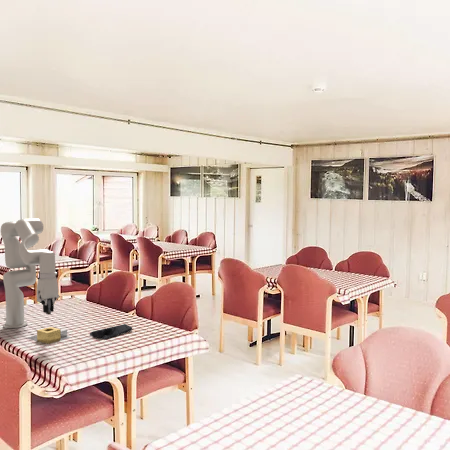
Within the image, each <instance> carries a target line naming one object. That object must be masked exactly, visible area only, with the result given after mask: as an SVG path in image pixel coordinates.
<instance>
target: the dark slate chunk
mask: <svg viewBox="0 0 450 450" xmlns="http://www.w3.org/2000/svg"><path fill="white" fill-rule="evenodd" d="M132 330H133V326H130V325H128V324H126V323H124V324H118V325H116V326H111V327H106V328H102V329H97V330H94V331H91V332H90V333H89V336H90V337H93V338H95V339H97V340H98V339H99V340H108V339H112V338H115V337H118V336H120V335H124V334H126V333H129V332H130V331H132Z"/></svg>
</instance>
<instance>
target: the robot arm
mask: <svg viewBox="0 0 450 450" xmlns="http://www.w3.org/2000/svg"><path fill="white" fill-rule="evenodd" d="M43 231H44V224H43V222H42V220H41V219H40V218H21V219H19V220H16V221H15V220H14V221H6V222H3V223H2V224H1V226H0V235H1V238H2V241H3V246H4V262H5V266H6V268H9V269H15V270H10V271H9V270H8V271H7V272H5V273H4V274H3V275H2V276H3V277H2V280H3V285H4V293H5V317H4V319H3V320H4V321H5V323H3V328H4V329H5V328H6V329H17V328H24V327H26V326H27V325H28V322H27V321H26V320H25V298H24V297H25V296H24V293H23V291H22V290H21V287H27V286H32V285H35V283H36V281H37V284H36V302H39V303H40V304H41V306H42V310H43V311H42V312H43V313H45V314H46V313H48V305H47V299H49V298H51V313H53V312H54V310H55V308H54V307H55V305H54V304H55V302H56V301H57V299H59V298H60V294H59V283H58V279H57V277H56V276H57V275H58V272H56V253H55V252H54V251H53V250H52V251H51V250H50V249H34V250H28V249H30V248H32V247H33V246H34V247H35V245H37V244H38V242H39V241H40V237H39V235H40V234H41V233H42V232H43ZM18 237H19V239H20V240H21V242H20V240H19V239H18ZM38 265H39V278H38V279H37V266H38ZM20 268H24V269H20Z"/></svg>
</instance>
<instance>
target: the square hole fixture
mask: <svg viewBox="0 0 450 450" xmlns="http://www.w3.org/2000/svg"><path fill="white" fill-rule="evenodd" d="M70 338H72V337H71V336H68V329H66V328H61V329H60V328H57V327H52V326H49V327H46V328H42V329H37V330H36V335H32V336H29V337H26V339H27V340H31V341H34V342H39V343H42V344H45V345H51V344H53V343H58V342H60V341H64V340H67V339H70Z"/></svg>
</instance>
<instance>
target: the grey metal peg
mask: <svg viewBox="0 0 450 450" xmlns="http://www.w3.org/2000/svg"><path fill="white" fill-rule="evenodd" d="M47 305H48V313H45V315H52V312H51V298H49V299H47Z"/></svg>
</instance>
